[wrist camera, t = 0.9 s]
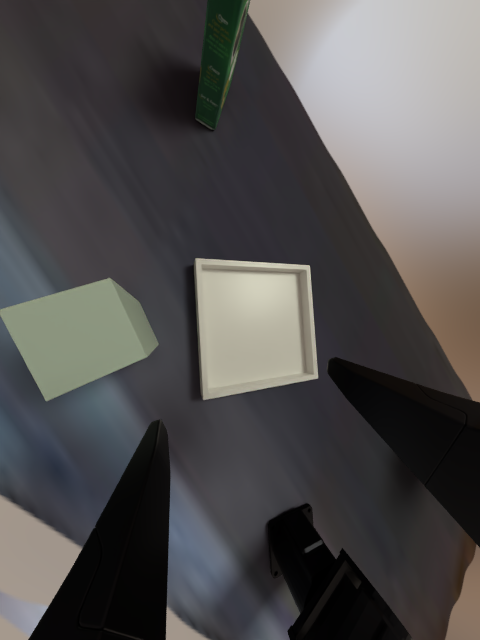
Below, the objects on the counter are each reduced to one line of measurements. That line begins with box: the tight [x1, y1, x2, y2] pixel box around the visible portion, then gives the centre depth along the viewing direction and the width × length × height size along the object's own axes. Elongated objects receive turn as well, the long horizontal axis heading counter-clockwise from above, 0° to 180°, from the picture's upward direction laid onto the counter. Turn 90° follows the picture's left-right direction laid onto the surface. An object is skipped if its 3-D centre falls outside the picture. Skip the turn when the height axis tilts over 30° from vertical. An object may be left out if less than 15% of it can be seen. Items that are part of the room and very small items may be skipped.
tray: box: [194, 258, 318, 400], centre depth 24 cm, size 15×15×2 cm
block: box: [0, 278, 159, 401], centre depth 15 cm, size 5×5×10 cm
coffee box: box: [195, 0, 250, 130], centre depth 18 cm, size 8×3×13 cm, turn 164°
